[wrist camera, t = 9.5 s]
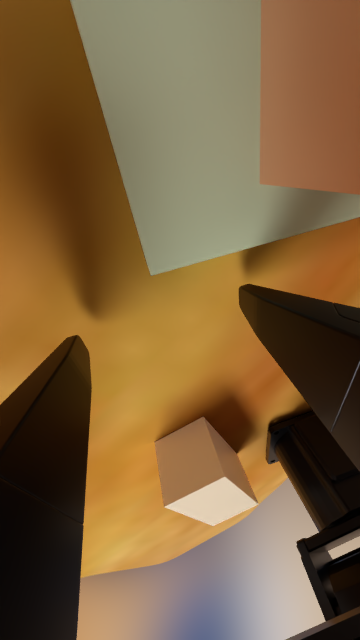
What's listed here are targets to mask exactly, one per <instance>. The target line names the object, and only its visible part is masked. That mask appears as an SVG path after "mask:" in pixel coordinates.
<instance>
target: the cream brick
mask: <svg viewBox="0 0 360 640" xmlns="http://www.w3.org/2000/svg"><path fill="white" fill-rule="evenodd" d="M155 449H156V455H157V462H158V469H159V476H160V482H161V489H162V496H163V502H164V507H166V508H168V509H171V510H173V511H176V512H178V513H181V514H184V515H186V516H189V517H191V518H194V519H196V520H199V521H202V522H204V523H207V524H209V525H212V526H214V525H216V524H218V523H221V522H223V521H225V520H227V519H229V518H231V517H233V516H235V515H237V514H239V513H241V512H243V511H245V510H248V509H250V508H252V507H254V506H256V505H258V502H257V500H256V497H255V495H254V493H253V490H252V488H251V486H250V483H249V481H248V479H247V476H246V474H245V472H244V469H243V467H242V465H241V462H240V460H239V458H238V455H237V454H236V452H235V451H234V450H233V449H232V448H231V447H230V446H229V445H228V443H227V442H226V441H225V440H224V439H223V438H222V437H221V436H220V435H219V433H218V432H217V431H216V430H215V429H214V428H213V427H212V426H211V425H210V423H209V422H208V421H207V420H206V419H205V418H204V417H201V418H200V419H198V420H196V421H194V422H192V423H190V424H188V425H186V426H184V427H182V428H181V429H179V430H177V431H175V432H173V433H171V434H169V435H167V436H165V437H163V438H162V439H160V440H158V441H156V442H155Z"/></svg>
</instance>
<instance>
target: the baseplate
mask: <svg viewBox="0 0 360 640" xmlns="http://www.w3.org/2000/svg"><path fill="white" fill-rule="evenodd" d="M70 2H71V6H72V9H73V13H74V16H75V19H76V23H77V26H78V30H79V33H80V37H81V40H82V43H83V47H84V50H85V54H86V57H87V61H88V64H89V67H90V71H91V74H92V78H93V81H94V85H95V88H96V91H97V95H98V98H99V102H100V105H101V109H102V112H103V115H104V119H105V122H106V126H107V129H108V132H109V136H110V139H111V143H112V146H113V150H114V153H115V156H116V160H117V163H118V167H119V170H120V174H121V177H122V180H123V184H124V187H125V191H126V194H127V198H128V201H129V204H130V208H131V211H132V215H133V218H134V222H135V225H136V228H137V232H138V235H139V239H140V242H141V246H142V249H143V252H144V256H145V259H146V263H147V266H148V269H149V272H150V275H151V276H152V275H156V274H159V273H163V272H167V271H170V270H174V269H177V268H181V267H184V266H188V265H191V264H195V263H198V262H202V261H206V260H209V259H213V258H216V257H220V256H223V255H227V254H230V253H234V252H237V251H241V250H245V249H248V248H252V247H255V246H259V245H262V244H266V243H269V242H273V241H276V240H280V239H284V238H287V237H291V236H294V235H298V234H301V233H305V232H308V231H312V230H315V229H319V228H323V227H326V226H330V225H333V224H337V223H340V222H344V221H347V220H351V219H355V218H358V217H360V195H357V194H348V193H338V192H329V191H320V190H310V189H301V188H292V187H282V186H273V185H264V184H260V82H261V0H70Z"/></svg>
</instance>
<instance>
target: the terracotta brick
mask: <svg viewBox="0 0 360 640" xmlns="http://www.w3.org/2000/svg"><path fill="white" fill-rule="evenodd" d="M260 184H264V185H273V186H282V187H292V188H301V189H310V190H320V191H329V192H338V193H348V194H357V195H360V0H261V82H260Z"/></svg>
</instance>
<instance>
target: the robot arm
mask: <svg viewBox="0 0 360 640" xmlns="http://www.w3.org/2000/svg"><path fill="white" fill-rule="evenodd" d="M239 305H240V308H241V310H242V312H243V314H244V315H245V317H246V319H247V320H248V322H249V324H250V326H251V327H252V329H253V331H254V332H255V334H256V336H257V337H258V338H259V340H260V341H261V342H262V344H263V345H264V346H265V348H266V349H267V350H268V352H269V353H270V354H271V356H272V357H273V358H274V359H275V361H276V362H277V363H278V365H279V366H280V367H281V369H282V370H283V371H284V373H285V374H286V375H287V377H288V378H289V379H290V380H291V382H292V383H293V384H294V386H295V387H296V388H297V390H298V391H299V392H300V394H301V395H302V396H303V398H304V399H305V400H306V401H307V403H308V404H309V405H310V407H311V408H312V409H313V412H310V413H307V414H304V415H302V416H299V417H296V418H293V419H290V420H288V421H285V422H282V423H279V424H276V425H274V426H272V427H270V428H269V430H268V438H267V449H266V460H267V462H268V464H272V463H275V462H278V461H279V462H280V463H281V465H282V467H283V469H284V470H285V472H286V474H287V476H288V478H289V479H290V481H291V483H292V485H293V486H294V488H295V490H296V492H297V494H298V495H299V497H300V499H301V501H302V502H303V504H304V506H305V508H306V509H307V511H308V513H309V515H310V517H311V518H312V520H313V522H314V523H315V525H316V527H317V529H318V531H319V533H317V534H315V535H313V536H311V537H309V538H303V539H301V540H299V541H297V548H298V550H299V552H300V554H301V559H302V562H303V565H304V567H305V570H306V572H307V575H308V577H309V580H310V582H311V585H312V587H313V590H314V592H315V595H316V597H317V600H318V603H319V605H320V608H321V610H322V613H323V615H324V618H325V620H326V622H324V623H322V624H319V625H318V626H315V627H313V628H311V629H308V630H306V631H304V632H302V633H299V634H297V635H295V636H293V637H290V638H288V639H286V640H360V548H357V549H355V550H353V551H351V552H348V553H347V554H344V555H342V556H340V557H338V558H336V559H332V558H331V556H330V555H329V553H328V550H331V549H333V548H335V547H337V546H339V545H341V544H343V543H345V542H348V541H350V540H352V539H354V538H356V537H358V536H360V308H356V307H351V306H347V305H342V304H338V303H332V302H328V301H324V300H319V299H315V298H310V297H306V296H301V295H297V294H292V293H288V292H283V291H279V290H274V289H270V288H265V287H261V286H256V285H252V284H246V285H243V286H240V287H239ZM91 389H92V388H91V371H90V357H89V352H88V349H87V348H86V346H85V344H84V343H83V341H82V339H81V338H80V337H79V336H78V335H75V336H71V337H68V338H66V339H65V340H64V341H63V342H62V343H61V344H60V345H59V346H58V347H57V348H56V349H55V350H54V351H53V352H52V353H51V354H50V355H49V356H48V357H47V358H46V359H45V360H44V361H43V362H42V363H41V364H40V365H39V366H38V367H37V368H36V369H35V370H34V371H33V372H32V374H31V375H30V376H29V377H28V378H27V379H26V380H25V381H24V382H23V383H22V384H21V385H20V386H19V387H18V388H17V389H16V390H15V391H14V392H13V393H12V394H11V395H10V396H9V397H8V398H7V399H6V400H5V401H4V402H3V403H2V404H1V405H0V640H76V638H77V624H78V623H77V622H78V606H79V590H80V575H81V558H82V542H83V523H84V506H85V490H86V473H87V457H88V440H89V424H90V408H91Z"/></svg>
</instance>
